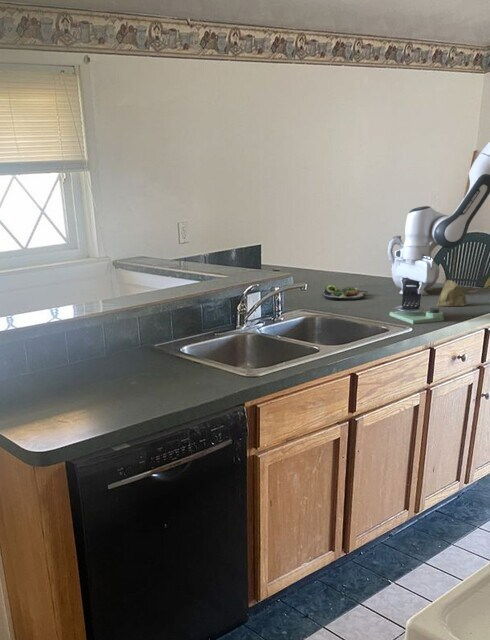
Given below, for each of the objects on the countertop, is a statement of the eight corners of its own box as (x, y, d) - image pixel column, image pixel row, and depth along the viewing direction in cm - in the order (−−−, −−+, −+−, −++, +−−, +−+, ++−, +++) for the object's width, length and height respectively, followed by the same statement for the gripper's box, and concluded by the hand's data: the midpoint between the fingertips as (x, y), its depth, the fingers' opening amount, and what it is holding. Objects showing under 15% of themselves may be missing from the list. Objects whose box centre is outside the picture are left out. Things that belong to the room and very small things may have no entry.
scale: (445, 320, 241) (446, 312, 240) (413, 324, 238) (414, 316, 237) (419, 312, 255) (420, 304, 253) (389, 315, 251) (390, 308, 250)
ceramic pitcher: (392, 301, 280) (400, 241, 268) (377, 289, 297) (384, 232, 285) (442, 298, 280) (452, 239, 268) (424, 287, 297) (433, 230, 286)
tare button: (440, 313, 241) (441, 309, 240) (433, 314, 240) (433, 309, 239) (435, 311, 243) (435, 307, 243) (428, 312, 243) (428, 308, 242)
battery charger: (399, 307, 247) (402, 277, 243) (402, 305, 250) (405, 275, 245) (418, 309, 243) (421, 278, 239) (421, 307, 246) (424, 277, 242)
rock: (472, 298, 263) (448, 292, 269) (472, 283, 256) (447, 277, 262) (459, 318, 260) (435, 311, 266) (458, 303, 254) (434, 297, 260)
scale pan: (429, 310, 244) (429, 309, 243) (405, 313, 241) (405, 311, 241) (412, 305, 253) (413, 303, 252) (390, 308, 250) (390, 306, 250)
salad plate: (364, 291, 294) (364, 281, 292) (371, 300, 278) (372, 289, 276) (320, 292, 296) (320, 282, 294) (325, 301, 280) (326, 290, 278)
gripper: (441, 256, 230) (437, 295, 235) (406, 249, 248) (403, 286, 254) (426, 257, 229) (422, 297, 234) (392, 251, 247) (389, 288, 252)
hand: (412, 291), depth 244 cm, fingers open, 8 cm apart
